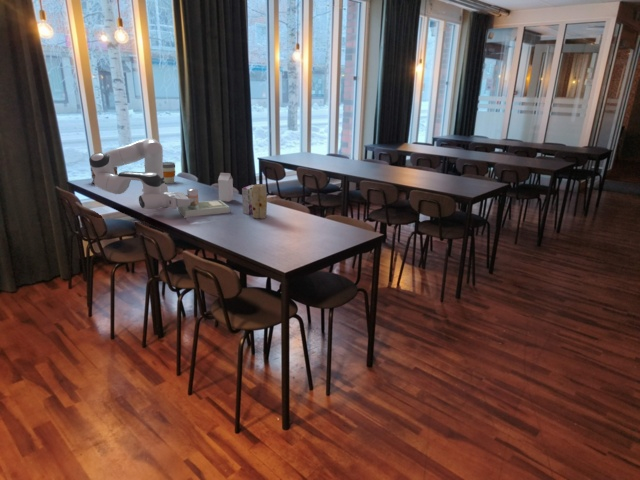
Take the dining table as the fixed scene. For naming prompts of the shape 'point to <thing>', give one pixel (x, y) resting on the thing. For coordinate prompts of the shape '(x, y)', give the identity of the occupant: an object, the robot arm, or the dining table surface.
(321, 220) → the dining table surface
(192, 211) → the pale green tray
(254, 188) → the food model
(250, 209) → the candy bar box
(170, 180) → the reusable coffee cup
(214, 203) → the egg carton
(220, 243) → the dining table surface
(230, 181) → the milk carton
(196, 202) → the glass jar
